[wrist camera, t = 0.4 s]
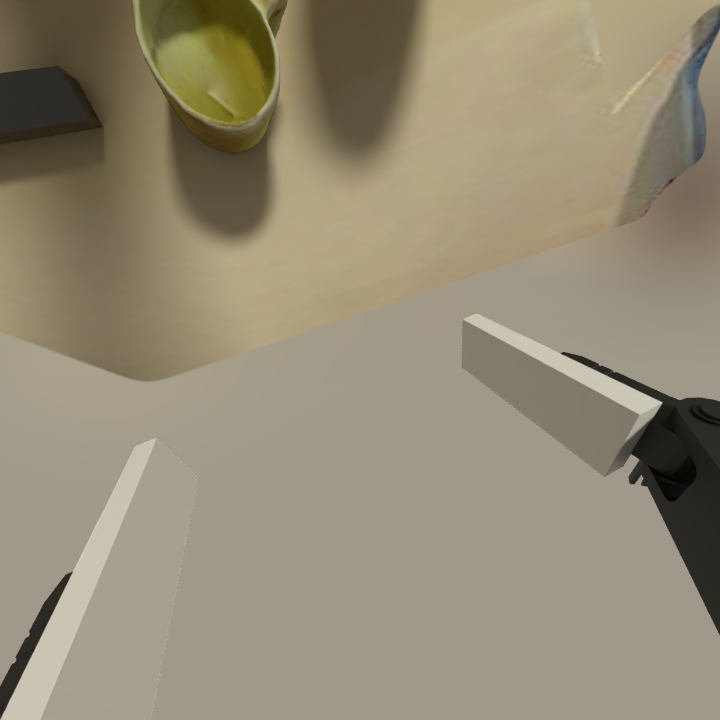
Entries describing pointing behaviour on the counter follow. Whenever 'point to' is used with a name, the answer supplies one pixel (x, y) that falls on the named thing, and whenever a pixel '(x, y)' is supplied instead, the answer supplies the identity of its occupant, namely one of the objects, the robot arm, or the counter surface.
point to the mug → (215, 64)
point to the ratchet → (42, 105)
